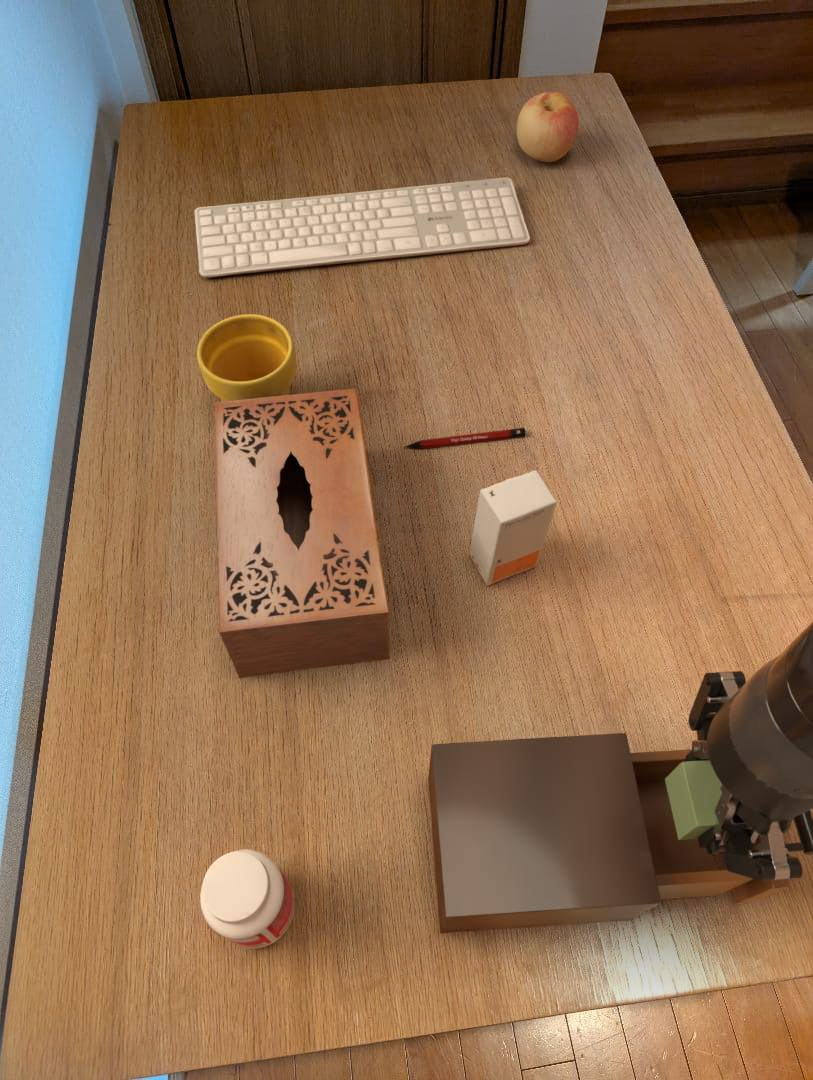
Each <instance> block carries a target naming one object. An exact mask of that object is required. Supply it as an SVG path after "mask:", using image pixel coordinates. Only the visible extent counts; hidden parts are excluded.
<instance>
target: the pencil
mask: <svg viewBox="0 0 813 1080" xmlns="http://www.w3.org/2000/svg"><path fill="white" fill-rule="evenodd" d="M523 437H526V429H525V427H519V428H518V427H517V428H512V429H511V428H510V429H502V430H494V431H485V432H478V433H477V432H476V433H469V434H460V435H453V436H445V437H435V438H428V439H421V440H418V441H415V442H413V443H410V444H407V445H405V446H404V448H410V449H411V448H412V449H417V450H426V449H434V448H442V447H450V446H457V445H458V446H459V445H466V444H473V443H474V444H475V443H484V442H490V441H499V440H507V439H515V438H523Z"/></svg>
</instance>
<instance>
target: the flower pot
mask: <svg viewBox="0 0 813 1080" xmlns="http://www.w3.org/2000/svg"><path fill="white" fill-rule="evenodd" d="M196 359H197V363H198V366H199V370H200V372H201V375H202V378H203V380H204V383H205V384H206V387H207V388H208V390H209V391H210V392H211V393H213V394H214V395H215V396H217V397H218V398H219V399H220V400H221V402H223V401H233V400H243V399H253V398H263V397H273V396H283V395H290V390H291V383H292V381H293V380H294V376H295V375H296V370H297V357H296V350H295V344H294V341H293V337H292V336H291V334H290V332H289V330H288V329H287V327H285V325H283V324H282V323H281V322H280V321H277V320H276V319H273V318H271V317H269V316H266V315H261V314H255V313H254V314H253V313H245V314H244V313H243V314H238V315H234V316H229V317H227V318H224V319H222V320H220V321H218V322H216V323H215V324H214V325H212V326H211V327H210V328H208V329H207V330H206V332H204V333H203V334H202V336H201V337H200V339H199V342H198V345H197V350H196Z"/></svg>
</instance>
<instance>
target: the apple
mask: <svg viewBox="0 0 813 1080" xmlns="http://www.w3.org/2000/svg"><path fill="white" fill-rule="evenodd" d="M579 120H580V118H579V114H578V112H577V110H576V108H575V105H574V104H573V103H572V101H571V99H570V98H569V97H568V96H567V95H565V94H564V93H562V92H559V91H548V92H542V93H538V94H536V95H534V96H532V97H531V98H530V99H528V100H527V101H526V102H525V103H524V105H523V107H522V108H521V109H520V112H519V115H518V117H517V123H516V139H517V142H518V145H519V147H520V149H521V150H522V151H523V152H524V153H525V154H526V155H527V156H529V157H530V158H532V159H534V160H536V161H539V162H542V163H553V162H556V161H558V160H560V159H562V158H563V157H564V156H565V155H567V153H568V152H569V151H570V150H571V148H572V147H573V145H574V144H575V141H576V138H577V136H578V133H579V132H578V131H579V127H580V121H579Z"/></svg>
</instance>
